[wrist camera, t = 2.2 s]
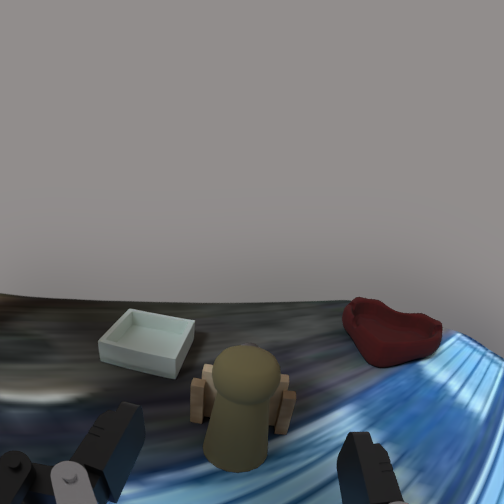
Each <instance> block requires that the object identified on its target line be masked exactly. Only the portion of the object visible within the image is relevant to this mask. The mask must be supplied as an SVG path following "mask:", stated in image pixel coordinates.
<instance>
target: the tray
mask: <svg viewBox="0 0 504 504" xmlns="http://www.w3.org/2000/svg"><path fill="white" fill-rule="evenodd" d="M194 329H195V321H194V320H188V319H182V318H176V317H171V316H165V315H160V314H155V313H150V312H145V311H140V310H135V309H130V308H129V309H128V310H127V311H126V312H125V314H124V315H123V316H122V317H121V318H120V319H119V320H118V321H117V322H116V323H115V324H114V325H113V326H112V327H111V328H110V329H109V330H108V331H107V332H106V333H105V334H104V335H103V336H102V337H101V338H100V339H99V340H98V347H99V354H100V361H102V362H106V363H109V364H113V365H116V366H120V367H124V368H128V369H131V370H135V371H139V372H144V373H148V374H152V375H156V376H161V377H165V378H170V379H175V380H176V377H177V375H178V373H179V371H180V369H181V366H182V364H183V362H184V360H185V358H186V355H187V353H188V351H189V349H190V347H191V344H192V342H193V340H194Z"/></svg>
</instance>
